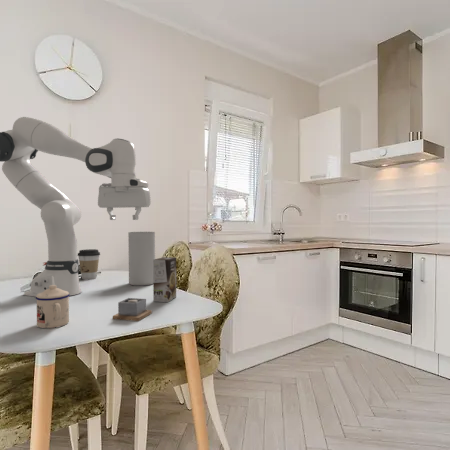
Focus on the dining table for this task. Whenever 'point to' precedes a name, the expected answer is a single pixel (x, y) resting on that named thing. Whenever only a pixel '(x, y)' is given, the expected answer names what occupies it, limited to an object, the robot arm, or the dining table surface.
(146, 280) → the cylinder vase
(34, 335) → the dining table surface
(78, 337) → the dining table surface
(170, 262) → the coffee box
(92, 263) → the coffee cup
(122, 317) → the stand
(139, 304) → the steel collar
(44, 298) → the teacup with lid
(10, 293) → the dining table surface
